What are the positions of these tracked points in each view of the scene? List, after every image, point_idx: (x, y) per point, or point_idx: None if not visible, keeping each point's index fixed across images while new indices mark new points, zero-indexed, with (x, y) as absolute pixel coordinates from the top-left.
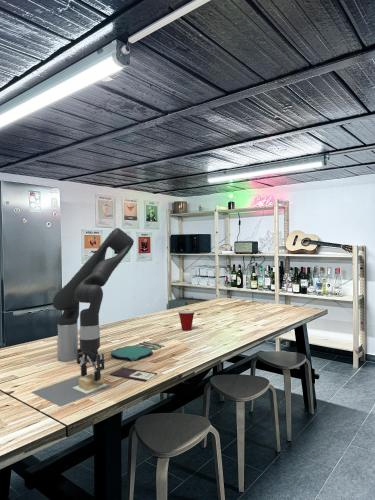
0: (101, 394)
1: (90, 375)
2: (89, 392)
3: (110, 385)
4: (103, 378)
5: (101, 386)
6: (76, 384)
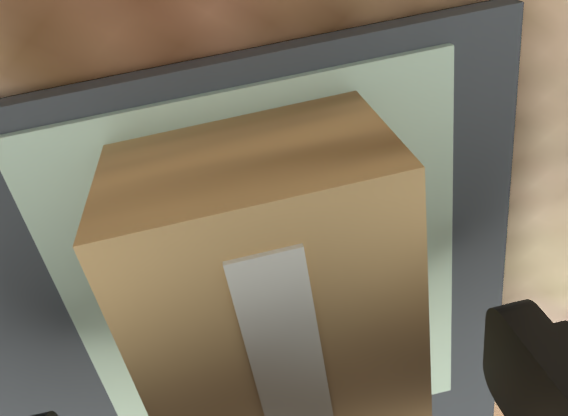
0: (563, 234)
1: (202, 390)
2: (450, 357)
3: (489, 14)
4: (393, 143)
5: None
6: (34, 404)
